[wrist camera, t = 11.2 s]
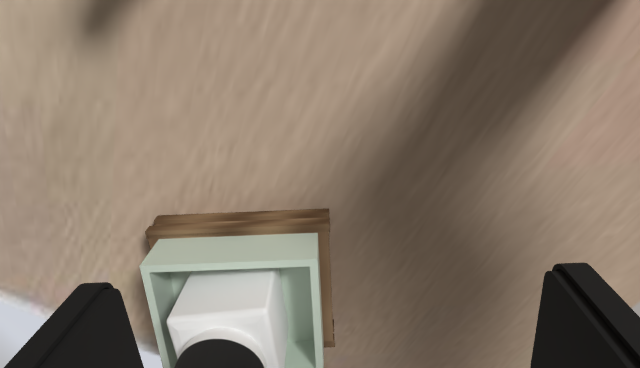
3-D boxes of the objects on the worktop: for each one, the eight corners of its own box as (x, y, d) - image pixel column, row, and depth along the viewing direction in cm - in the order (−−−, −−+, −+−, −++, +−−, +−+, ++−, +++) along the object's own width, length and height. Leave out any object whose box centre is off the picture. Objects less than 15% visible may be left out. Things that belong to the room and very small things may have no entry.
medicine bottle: (192, 263, 36) (134, 376, 25) (277, 255, 36) (257, 365, 24) (210, 332, 38) (165, 462, 27) (289, 324, 38) (276, 453, 27)
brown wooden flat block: (328, 208, 38) (329, 224, 35) (333, 325, 43) (334, 346, 40) (157, 215, 38) (145, 231, 35) (181, 330, 43) (171, 352, 40)
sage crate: (317, 232, 35) (317, 259, 32) (323, 340, 40) (323, 375, 36) (158, 239, 36) (139, 265, 32) (180, 345, 40) (166, 380, 36)
